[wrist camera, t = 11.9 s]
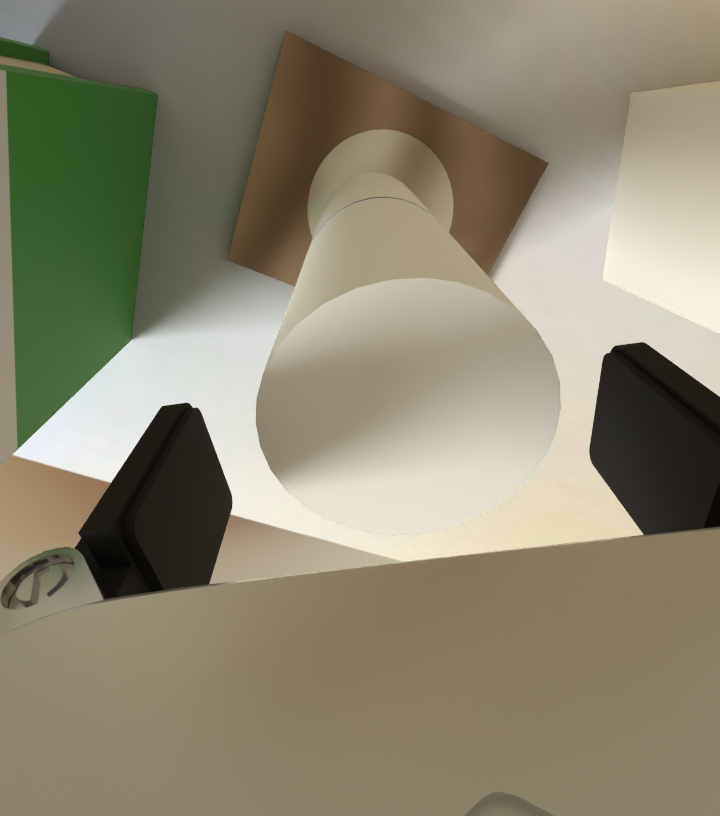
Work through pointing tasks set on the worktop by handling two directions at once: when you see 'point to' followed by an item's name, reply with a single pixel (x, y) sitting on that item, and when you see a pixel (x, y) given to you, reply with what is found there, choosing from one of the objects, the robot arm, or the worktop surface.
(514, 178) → the walnut board
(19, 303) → the hardback book
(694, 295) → the milk
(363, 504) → the cylindrical container
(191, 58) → the worktop surface
